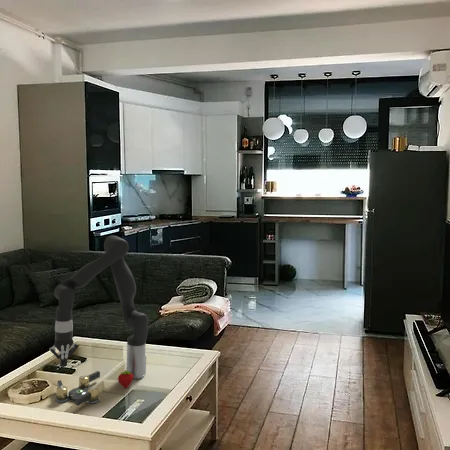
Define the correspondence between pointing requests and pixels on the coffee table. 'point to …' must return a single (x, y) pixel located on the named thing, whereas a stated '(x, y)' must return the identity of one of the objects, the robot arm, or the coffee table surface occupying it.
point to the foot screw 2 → (88, 396)
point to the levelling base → (76, 395)
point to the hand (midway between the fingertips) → (63, 365)
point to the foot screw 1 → (61, 391)
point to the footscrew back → (88, 379)
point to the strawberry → (125, 379)
